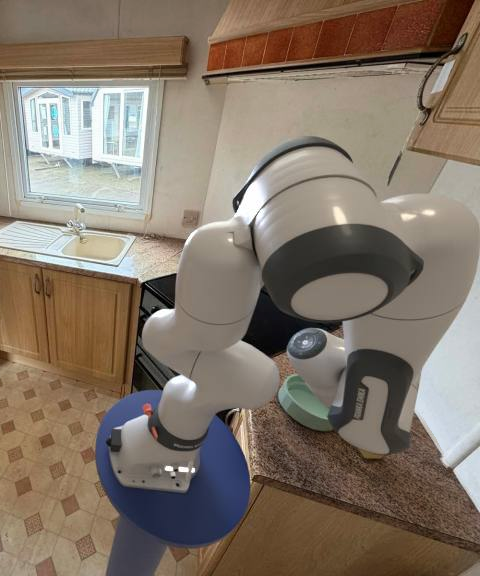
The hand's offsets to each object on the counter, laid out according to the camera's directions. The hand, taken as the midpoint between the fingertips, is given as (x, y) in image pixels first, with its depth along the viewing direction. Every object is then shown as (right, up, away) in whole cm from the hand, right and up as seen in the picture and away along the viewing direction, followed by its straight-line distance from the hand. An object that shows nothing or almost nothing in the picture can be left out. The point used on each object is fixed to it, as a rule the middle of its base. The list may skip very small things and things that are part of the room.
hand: (355, 415), depth 69 cm
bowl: (+2, -6, +19) cm, 20 cm away
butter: (+10, -13, +9) cm, 19 cm away
